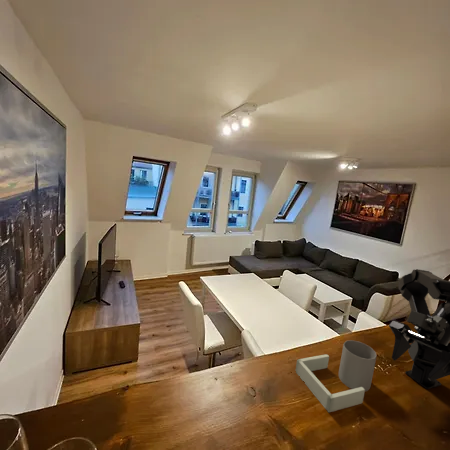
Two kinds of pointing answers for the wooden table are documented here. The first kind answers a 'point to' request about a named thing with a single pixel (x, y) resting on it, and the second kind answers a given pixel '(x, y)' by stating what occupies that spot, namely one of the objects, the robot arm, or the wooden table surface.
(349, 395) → the u-shaped wall frame
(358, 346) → the cup
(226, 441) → the wooden table surface
